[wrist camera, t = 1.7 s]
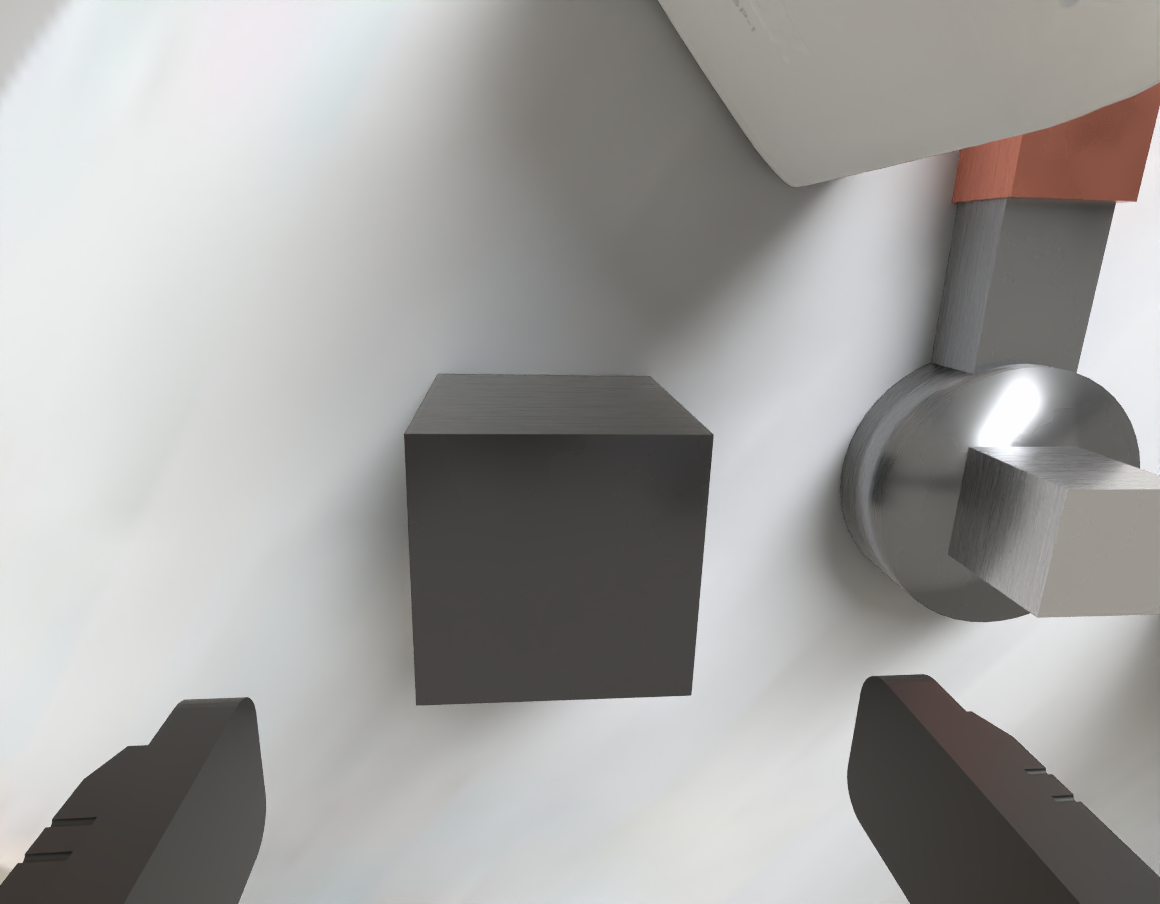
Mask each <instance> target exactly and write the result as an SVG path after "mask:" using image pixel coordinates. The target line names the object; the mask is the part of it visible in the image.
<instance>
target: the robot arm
mask: <svg viewBox="0 0 1160 904" xmlns="http://www.w3.org/2000/svg"><path fill="white" fill-rule="evenodd" d="M847 781H848V790H849V795H850V799H851V803H852V806H853V809H854V812H855V814H856V816H857V818H858V820H859V822H860V824H861V825H862V827H863V829H864V830H865V832H866V833H867V835H868V837H869V838H870V840H871V841H872V843H873V845H874V846H875V848H876V849H877V851H878V853H879V854H880V856H881V857H882V859H883V861H884V862H885V864H886V865H887V867H888V869H889V870H890V872H891V873H892V875H893V877H894V878H895V880H896V882H897V883H898V885H899V886H900V888H901V890H902V891H903V893H904V894H905V896H906V898H907V899H908V901H909V902H910V904H1160V877H1159V876H1158V875H1157V874H1156V873H1155V872H1154V871H1153V870H1152V869H1151V868H1150V867H1149V866H1147V865H1146V864H1145V863H1144V862H1143V861H1142V860H1141V859H1140V858H1139V857H1138V856H1137V855H1136V854H1135V853H1134V852H1133V851H1132V850H1131V849H1130V848H1129V847H1128V846H1127V845H1126V844H1124V843H1123V842H1122V841H1121V840H1120V839H1119V838H1118V837H1117V836H1116V835H1115V834H1114V833H1113V832H1112V831H1111V830H1110V829H1109V828H1108V827H1107V826H1106V825H1105V824H1104V823H1103V822H1101V821H1100V820H1099V819H1098V818H1097V817H1096V816H1095V815H1094V814H1093V813H1092V812H1091V811H1090V810H1089V809H1088V808H1087V807H1086V806H1085V805H1084V804H1083V803H1082V802H1076V801H1075V800H1074V797H1073V794H1072V793H1071V792H1070V791H1069V790H1068V789H1067V788H1066V787H1065V786H1064V785H1063V784H1062V783H1061V782H1060V781H1059V780H1058V779H1057V778H1056V777H1054V776H1053V775H1052V774H1051V775H1048V774H1047V773H1046V768H1045V767H1044V766H1043V765H1042V764H1041V763H1040V762H1039V761H1038V760H1037V759H1036V758H1035V757H1034V756H1033V755H1031V754H1030V753H1029V752H1028V751H1027V750H1026V749H1025V748H1024V747H1023V746H1022V745H1021V744H1020V743H1019V742H1018V741H1017V740H1016V739H1015V738H1014V737H1012V736H1011V735H1009V734H1008V733H1006V732H1004V731H1003V730H1001V729H999V728H998V727H996V726H994V725H993V724H991V723H990V722H988V721H986V720H985V719H983V718H981V717H980V716H978V715H976V714H975V713H973V712H972V711H970V712H966V711H965V710H964V709H963V708H962V707H961V706H960V705H959V704H958V703H957V702H956V701H955V700H954V699H953V698H952V697H951V696H950V695H949V694H948V693H947V692H946V691H945V690H944V689H943V688H942V687H941V686H940V685H939V684H938V683H937V682H936V681H935V680H934V679H933V678H931V677H930V676H928V675H924V674H920V675H893V676H871V677H869V678H868V679H866V681H865V682H864V684H863V686H862V689H861V694H860V700H859V705H858V711H857V717H856V723H855V729H854V735H853V740H852V746H851V752H850V758H849V764H848V771H847ZM265 816H266V795H265V786H264V778H263V769H262V760H261V751H260V743H259V734H258V725H257V716H256V710H255V706H254V703H253V701H252V700H251V699H250V698H248V697H246V698H218V699H191V700H183V701H181V702H180V703H179V704H178V705H177V706H176V707H175V708H174V710H173V711H172V712H171V714H170V715H169V717H168V718H167V720H166V721H165V722H164V724H163V725H162V727H161V728H160V729H159V731H158V732H157V734H156V735H155V736H154V738H153V739H152V741H151V742H150V744H149V745H144V746H128V747H126V748H125V749H124V750H122V751H121V752H120V753H118V754H117V755H116V756H114V757H113V758H112V759H110V760H109V761H108V762H106V763H105V764H104V765H102V766H101V767H100V768H98V769H97V770H96V771H94V772H93V773H92V774H90V775H89V776H88V777H86V778H85V779H84V780H83V781H82V782H81V783H80V785H79V786H78V787H77V788H76V790H75V791H74V792H73V793H72V795H71V796H70V797H69V799H68V800H67V801H66V802H65V804H64V805H63V806H62V808H61V809H60V810H59V811H58V813H57V814H56V815H55V816H54V818H53V819H52V825H51V827H48V828H45V829H44V830H43V832H42V833H41V834H40V836H39V837H38V838H37V839H36V841H35V842H34V843H33V844H32V846H31V847H30V848H29V850H28V851H27V852H26V853H25V859H24V861H23V863H18V864H17V865H16V866H15V867H14V869H13V870H12V871H11V872H10V874H9V875H8V876H7V878H6V879H5V880H4V881H3V883H2V884H1V885H0V904H238V903H239V900H240V898H241V895H242V893H243V890H244V888H245V885H246V883H247V880H248V878H249V875H250V873H251V870H252V868H253V865H254V863H255V860H256V858H257V855H258V852H259V849H260V845H261V841H262V837H263V831H264V825H265Z"/></svg>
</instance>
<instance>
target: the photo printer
mask: <svg viewBox="0 0 1160 904" xmlns="http://www.w3.org/2000/svg"><path fill="white" fill-rule="evenodd" d="M658 1H659V3H660V4H661V6H662V8H663V9H664V11H665V13H666V14H667V16H668V17H669V19H670V21H671V22H672V24H673V25H674V27H675V29H676V30H677V32H678V33H679V35H680V37H681V38H682V40H683V41H684V43H685V44H686V46H687V47H688V49H689V50H690V52H691V53H692V55H693V57H694V58H695V60H696V62H697V63H698V65H699V66H700V68H701V69H702V71H703V72H704V74H705V75H706V77H707V78H708V80H709V81H710V83H711V84H712V86H713V87H714V89H715V90H716V92H717V93H718V95H719V96H720V98H721V99H722V101H723V102H724V103H725V105H726V106H727V108H728V109H729V111H730V112H731V114H732V115H733V117H734V118H735V120H736V121H737V123H738V124H739V126H740V127H741V129H742V130H743V132H744V133H745V134H746V136H747V137H748V139H749V140H750V141H751V143H752V144H753V146H754V147H755V149H756V150H757V151H758V153H759V154H760V155H761V156H762V158H763V159H764V160H765V161H766V163H767V164H768V165H769V166H770V167H771V168H772V169H773V170H774V172H775V173H776V174H777V175H778V176H779V177H780V178H781V179H783V180H784V181H785V182H786V183H787V184H788V185H789V186H793V187H802V186H806V185H811V184H816V183H820V182H825V181H829V180H834V179H838V178H842V177H846V176H851V175H855V174H859V173H863V172H868V171H872V170H877V169H881V168H886V167H889V166H893V165H897V164H901V163H905V162H910V161H914V160H918V159H922V158H926V157H931V156H936V155H940V154H944V153H948V152H952V151H957V150H960V149H964V148H968V147H973V146H978V145H981V144H985V143H988V142H993V141H997V140H1001V139H1005V138H1010V137H1014V136H1018V135H1022V134H1026V133H1030V132H1034V131H1038V130H1041V129H1045V128H1049V127H1052V126H1055V125H1058V124H1061V123H1064V122H1066V121H1069V120H1072V119H1075V118H1078V117H1081V116H1083V115H1085V114H1088V113H1090V112H1092V111H1095V110H1097V109H1099V108H1101V107H1104V106H1107V105H1110V104H1113V103H1116V102H1118V101H1121V100H1124V99H1126V98H1129V97H1132V96H1134V95H1136V94H1138V93H1140V92H1142V91H1144V90H1146V89H1148V88H1150V87H1152V86H1154V85H1156V84H1158V83H1160V0H658Z"/></svg>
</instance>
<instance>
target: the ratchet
mask: <svg viewBox="0 0 1160 904" xmlns="http://www.w3.org/2000/svg"><path fill="white" fill-rule="evenodd" d="M1159 106H1160V83H1158V84H1156V85H1154V86H1152V87H1150V88H1148V89H1146V90H1144V91H1142V92H1140V93H1138V94H1136V95H1134V96H1132V97H1129V98H1126V99H1124V100H1121V101H1118V102H1116V103H1113V104H1110V105H1107V106H1104V107H1101V108H1099V109H1097V110H1095V111H1092V112H1090V113H1088V114H1085V115H1083V116H1081V117H1078V118H1075V119H1072V120H1069V121H1066V122H1064V123H1061V124H1058V125H1055V126H1052V127H1049V128H1045V129H1041V130H1038V131H1034V132H1030V133H1026V134H1022V135H1018V136H1014V137H1010V138H1005V139H1001V140H997V141H993V142H988V143H985V144H981V145H978V146H973V147H968V148H964V149H961V150H960V156H959V162H958V168H957V174H956V180H955V186H954V191H953V197H952V203H958V208H957V213H956V219H955V225H954V231H953V237H952V243H951V248H950V254H949V260H948V266H947V272H946V277H945V283H944V289H943V295H942V301H941V307H940V312H939V318H938V324H937V330H936V336H935V342H934V347H933V353H932V359H931V363H930V364H927V365H925V366H923V367H921V368H919V369H917V370H915V371H914V372H912V373H910V374H909V375H907V376H905V377H904V378H902V379H901V380H900V381H898V382H897V383H896V384H895V385H893V386H892V387H891V388H890V389H888V390H887V391H886V392H885V393H884V394H883V395H882V396H881V397H880V398H879V399H878V400H877V401H876V403H875V404H874V405H873V406H872V408H871V409H870V410H869V411H868V413H867V414H866V415H865V417H864V418H863V420H862V422H861V423H860V425H859V426H858V428H857V430H856V432H855V434H854V436H853V438H852V440H851V442H850V444H849V447H848V450H847V453H846V456H845V459H844V464H843V469H842V474H841V486H840V493H841V506H842V511H843V515H844V519H845V522H846V525H847V528H848V530H849V532H850V534H851V536H852V538H853V540H854V542H855V543H856V544H857V546H858V547H859V548H860V550H861V551H862V552H863V554H864V555H866V556H867V557H868V558H869V559H870V560H871V561H872V562H873V563H874V564H875V565H876V566H877V567H879V568H880V569H881V570H882V571H883V572H884V573H886V574H887V575H888V576H889V577H890V578H891V579H892V580H894V581H895V582H896V583H897V584H898V585H899V586H900V587H902V588H903V589H904V590H905V591H906V592H907V593H909V594H910V595H911V596H912V597H913V598H914V599H915V600H917V601H918V602H920V603H921V604H923V605H924V606H925V607H927V608H929V609H931V610H933V611H935V612H937V613H939V614H941V615H944V616H947V617H950V618H953V619H958V620H964V621H970V622H992V621H1002V620H1007V619H1012V618H1017V617H1020V616H1023V615H1026V614H1029V613H1031V614H1033V615H1034V616H1036V617H1076V616H1115V615H1154V614H1160V476H1159V475H1156V474H1153V473H1150V472H1148V471H1145V470H1142V469H1140V457H1139V448H1138V444H1137V439H1136V435H1135V432H1134V430H1133V427H1132V424H1131V422H1130V420H1129V418H1128V416H1127V414H1126V413H1125V411H1124V409H1123V408H1122V407H1121V405H1120V404H1119V403H1118V402H1117V400H1116V399H1115V398H1114V397H1113V396H1112V395H1111V394H1110V393H1109V392H1108V391H1107V390H1105V389H1104V388H1103V387H1102V386H1100V385H1099V384H1097V383H1095V382H1094V381H1092V380H1091V379H1089V378H1087V377H1084V376H1082V375H1079V374H1077V373H1076V372H1077V368H1078V364H1079V359H1080V355H1081V351H1082V346H1083V342H1084V338H1085V333H1086V329H1087V325H1088V321H1089V316H1090V312H1091V308H1092V303H1093V299H1094V295H1095V290H1096V286H1097V282H1098V277H1099V273H1100V269H1101V265H1102V260H1103V256H1104V252H1105V247H1106V243H1107V239H1108V234H1109V230H1110V226H1111V221H1112V217H1113V213H1114V209H1115V204H1116V203H1123V202H1137V197H1138V193H1139V189H1140V185H1141V181H1142V177H1143V172H1144V168H1145V164H1146V160H1147V156H1148V152H1149V148H1150V143H1151V139H1152V135H1153V131H1154V127H1155V123H1156V118H1157V114H1158V110H1159Z"/></svg>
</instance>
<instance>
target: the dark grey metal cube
mask: <svg viewBox="0 0 1160 904" xmlns="http://www.w3.org/2000/svg"><path fill="white" fill-rule="evenodd" d="M404 440H405V463H406V485H407V508H408V530H409V553H410V575H411V598H412V620H413V643H414V665H415V688H416V705H442V704H470V703H497V702H524V701H552V700H579V699H607V698H634V697H662V696H689V695H691V692H692V681H693V669H694V657H695V646H696V634H697V622H698V610H699V599H700V587H701V575H702V564H703V552H704V540H705V529H706V517H707V505H708V494H709V482H710V470H711V458H712V447H713V434H712V433H711V432H710V431H709V430H708V429H707V428H706V427H705V426H704V425H703V424H701V423H700V422H699V421H698V420H697V419H696V418H695V417H694V416H693V415H692V414H691V413H689V412H688V411H687V410H686V409H685V408H684V407H683V406H682V405H681V404H680V403H679V402H677V401H676V400H675V399H674V398H673V397H672V396H671V395H670V394H669V393H668V392H667V391H666V390H664V389H663V388H662V387H661V386H660V385H659V384H658V383H657V382H656V381H655V380H654V379H652V378H651V377H650V376H583V375H493V374H438V375H437V377H436V379H435V380H434V382H433V384H432V386H431V387H430V389H429V391H428V393H427V395H426V396H425V398H424V400H423V402H422V403H421V405H420V407H419V409H418V410H417V412H416V414H415V416H414V417H413V419H412V421H411V423H410V425H409V426H408V428H407V430H406V432H405V433H404Z"/></svg>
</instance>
